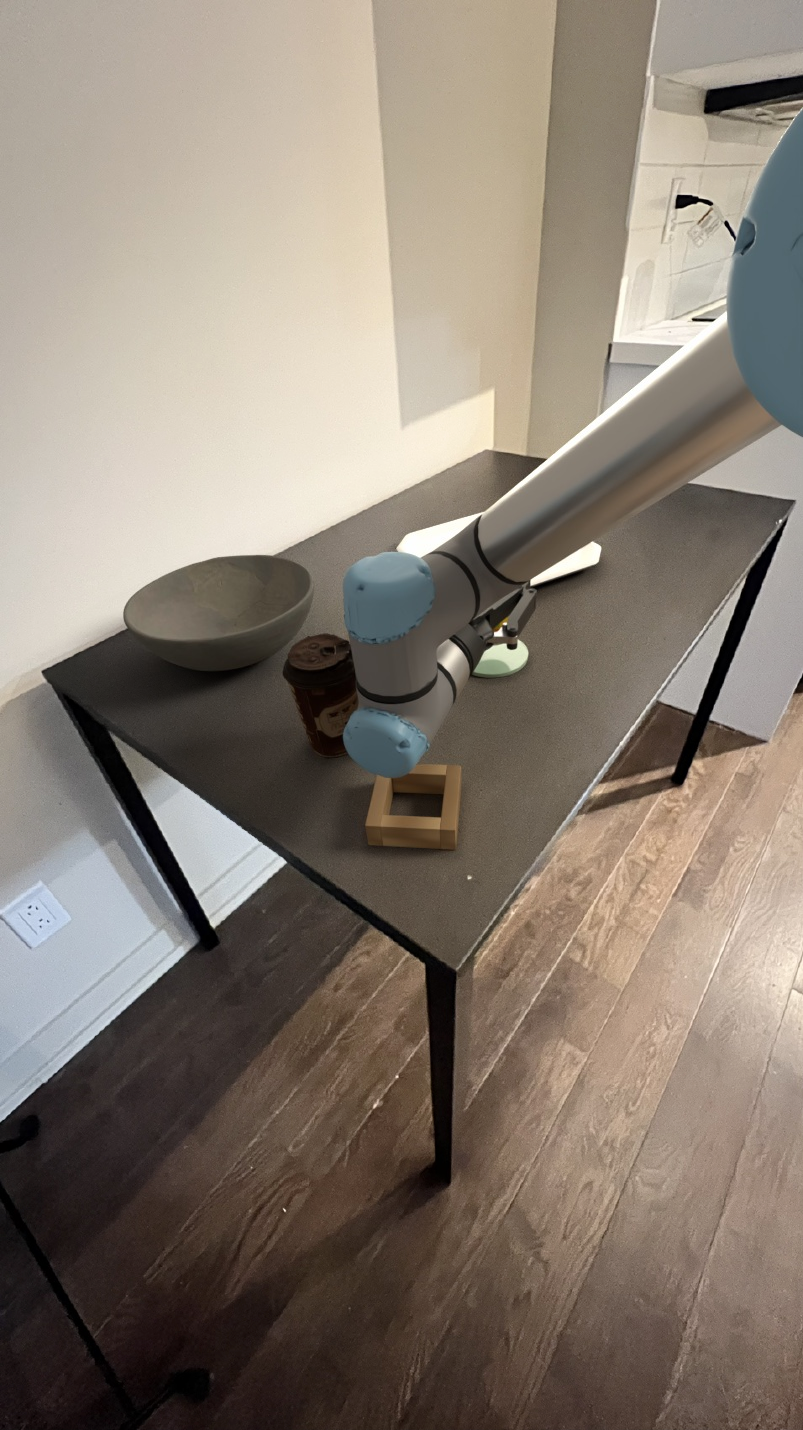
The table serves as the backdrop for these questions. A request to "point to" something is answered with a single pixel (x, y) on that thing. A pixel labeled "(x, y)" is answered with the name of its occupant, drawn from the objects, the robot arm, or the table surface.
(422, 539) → the plate
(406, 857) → the table surface
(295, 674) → the coffee cup
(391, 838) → the holder
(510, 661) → the coaster
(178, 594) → the bowl
